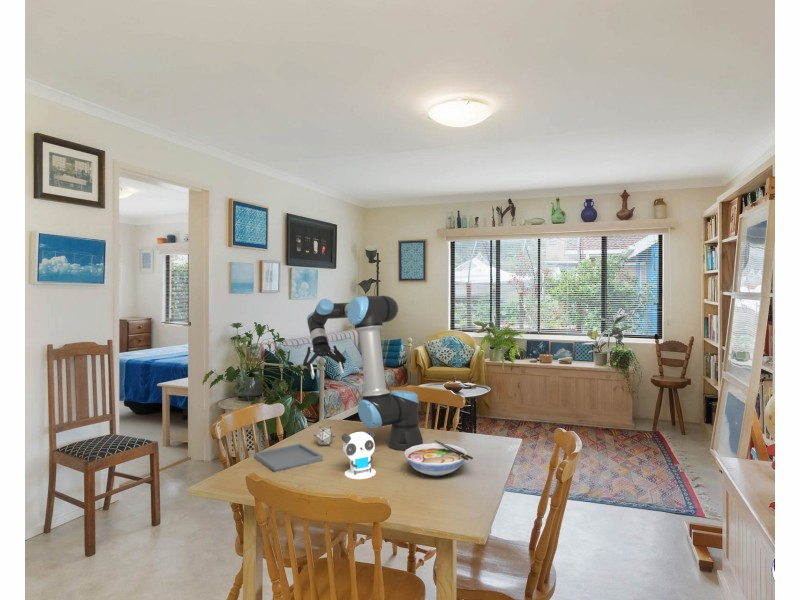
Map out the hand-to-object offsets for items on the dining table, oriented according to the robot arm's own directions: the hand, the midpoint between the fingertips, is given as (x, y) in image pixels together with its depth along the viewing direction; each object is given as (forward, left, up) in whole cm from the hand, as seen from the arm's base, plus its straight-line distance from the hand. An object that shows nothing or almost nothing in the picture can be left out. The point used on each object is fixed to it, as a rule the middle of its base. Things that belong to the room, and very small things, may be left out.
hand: (328, 376), depth 230 cm
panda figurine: (-48, +14, -28) cm, 57 cm away
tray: (-17, +28, -28) cm, 43 cm away
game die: (-10, +8, -28) cm, 31 cm away
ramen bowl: (-65, -8, -28) cm, 71 cm away
